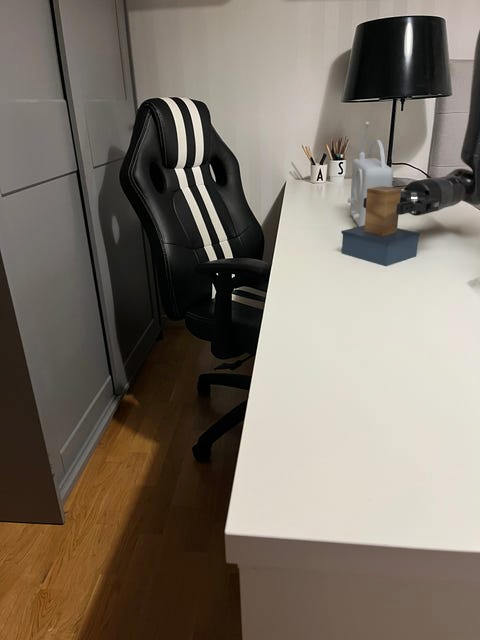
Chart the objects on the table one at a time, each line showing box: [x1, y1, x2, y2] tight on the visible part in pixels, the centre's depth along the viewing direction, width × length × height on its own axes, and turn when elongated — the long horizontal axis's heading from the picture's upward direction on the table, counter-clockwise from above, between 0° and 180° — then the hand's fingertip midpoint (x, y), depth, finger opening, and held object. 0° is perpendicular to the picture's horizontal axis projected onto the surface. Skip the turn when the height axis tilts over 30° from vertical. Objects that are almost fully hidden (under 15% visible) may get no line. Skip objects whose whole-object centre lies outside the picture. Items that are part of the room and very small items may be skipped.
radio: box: [347, 121, 394, 227], centre depth 129 cm, size 22×8×25 cm, turn 177°
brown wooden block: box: [364, 186, 402, 236], centre depth 104 cm, size 5×5×9 cm
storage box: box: [341, 225, 421, 267], centre depth 107 cm, size 12×10×5 cm
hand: (380, 206), depth 103 cm, fingers open, 8 cm apart
